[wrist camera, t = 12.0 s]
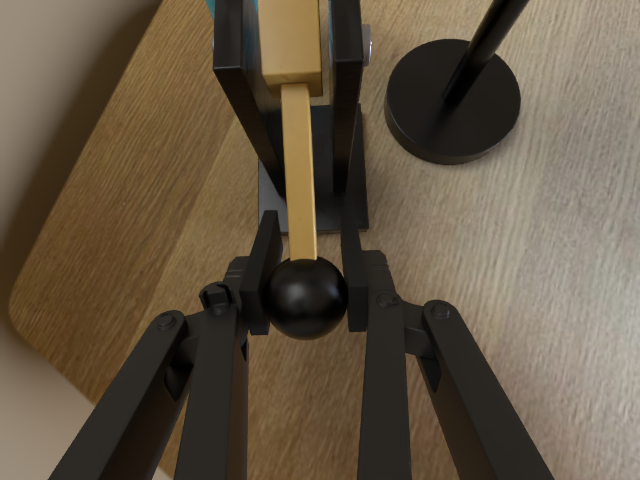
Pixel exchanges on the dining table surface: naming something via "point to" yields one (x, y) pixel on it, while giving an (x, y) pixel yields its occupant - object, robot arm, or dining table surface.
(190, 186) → the dining table surface
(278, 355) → the dining table surface
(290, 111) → the lamp switch
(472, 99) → the desk lamp
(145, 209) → the dining table surface
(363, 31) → the switch bracket
